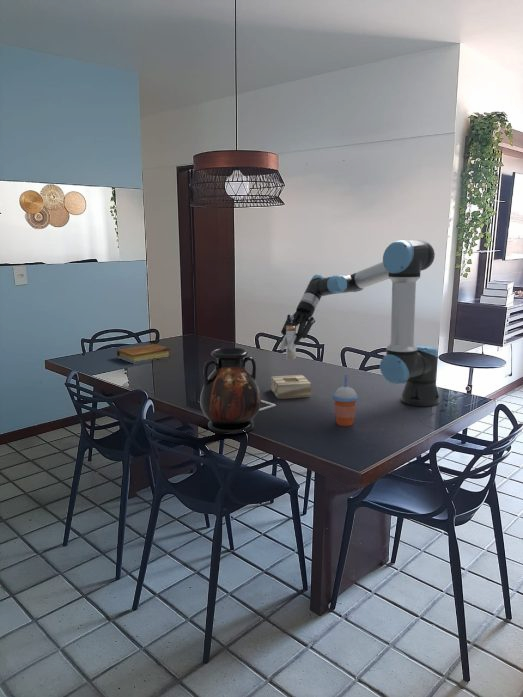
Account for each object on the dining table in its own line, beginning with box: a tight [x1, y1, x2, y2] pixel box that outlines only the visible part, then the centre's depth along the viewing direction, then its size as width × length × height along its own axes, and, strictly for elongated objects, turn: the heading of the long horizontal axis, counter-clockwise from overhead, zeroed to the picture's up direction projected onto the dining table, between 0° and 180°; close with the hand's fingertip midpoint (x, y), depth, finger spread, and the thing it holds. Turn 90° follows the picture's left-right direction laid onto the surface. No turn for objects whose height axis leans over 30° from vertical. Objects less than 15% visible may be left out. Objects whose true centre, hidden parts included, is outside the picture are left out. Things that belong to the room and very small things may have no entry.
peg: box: [285, 325, 297, 360], centre depth 229 cm, size 4×4×14 cm
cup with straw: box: [332, 374, 359, 427], centre depth 194 cm, size 9×9×18 cm
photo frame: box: [259, 399, 277, 412], centre depth 218 cm, size 15×1×18 cm
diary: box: [116, 343, 171, 362], centre depth 301 cm, size 23×19×6 cm
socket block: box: [270, 374, 312, 400], centre depth 233 cm, size 14×14×6 cm
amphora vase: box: [199, 347, 262, 435], centre depth 189 cm, size 22×22×28 cm
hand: (285, 349), depth 227 cm, fingers closed on peg, 4 cm apart
